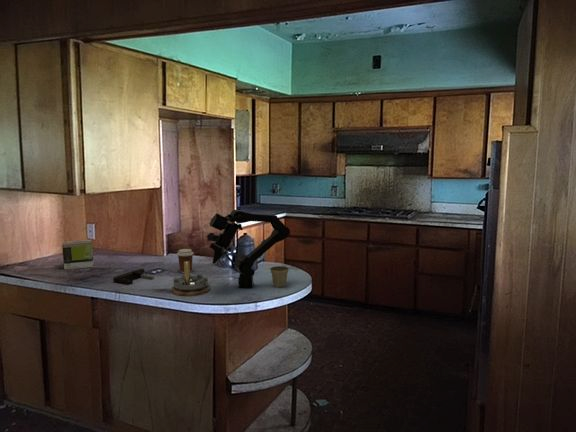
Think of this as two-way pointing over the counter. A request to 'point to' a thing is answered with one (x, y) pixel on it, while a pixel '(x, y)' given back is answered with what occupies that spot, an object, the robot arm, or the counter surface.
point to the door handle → (132, 277)
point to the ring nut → (190, 281)
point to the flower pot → (279, 275)
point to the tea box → (77, 254)
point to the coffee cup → (185, 258)
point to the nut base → (182, 293)
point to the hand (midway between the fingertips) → (213, 263)
